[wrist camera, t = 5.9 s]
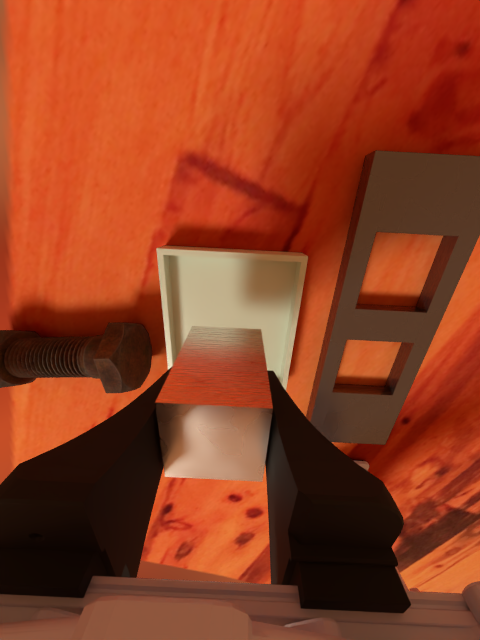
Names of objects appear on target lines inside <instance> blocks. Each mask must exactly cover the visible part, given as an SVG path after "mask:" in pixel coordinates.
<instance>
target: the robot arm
mask: <svg viewBox="0 0 480 640" xmlns="http://www.w3.org/2000/svg"><path fill="white" fill-rule="evenodd" d="M172 367H173V366H172ZM172 367H171V368H170V369H169V370H168V371H167V372H166V373H164V374H163V375H162V376H161V377H160V378H159V379H158V380H157V381H156V382H155V383H154V384H153V385H152V386H150V387H149V388H148V389H147V390H146V391H145V392H144V393H142V394H141V395H140V396H139V397H137V398H136V399H135V400H134V401H133V402H131V403H130V404H129V405H127V406H126V407H125V408H123V409H122V410H120V411H119V412H118V413H116V414H115V415H113V416H112V417H110V418H109V419H107V420H105V421H104V422H102V423H100V424H99V425H97V426H95V427H94V428H92V429H90V430H89V431H87V432H85V433H83V434H81V435H80V436H78V437H76V438H74V439H72V440H70V441H68V442H66V443H64V444H62V445H60V446H58V447H56V448H54V449H52V450H50V451H47V452H45V453H43V454H41V455H39V456H36V457H34V458H32V459H30V460H27V461H25V462H23V463H20V464H19V465H18V466H17V467H16V468H15V469H14V470H13V471H12V472H11V473H10V475H9V476H8V477H7V478H6V479H5V480H4V481H3V482H2V483H1V485H0V640H480V581H479V582H474V583H471V584H469V585H467V586H466V587H465V588H464V590H463V592H462V594H459V593H438V592H420V591H419V590H418V589H417V588H411V589H410V591H409V590H408V588H407V586H406V584H405V582H404V581H403V579H402V577H401V575H400V573H399V571H398V569H397V565H398V562H397V559H396V557H395V554H394V552H393V550H392V548H391V547H392V545H393V544H394V542H395V540H396V539H397V537H398V536H399V534H400V533H401V530H402V528H403V525H404V522H403V517H402V515H401V513H400V511H399V509H398V507H397V505H396V503H395V501H394V500H393V498H392V496H391V494H390V493H389V491H388V490H387V488H386V487H385V485H384V483H383V482H382V481H381V480H379V479H378V478H377V477H375V476H374V475H372V474H371V473H370V472H368V469H369V464H368V462H366V461H353V460H352V459H350V458H349V457H348V456H347V455H345V454H344V453H343V452H342V451H340V450H339V449H338V448H337V447H336V446H335V445H333V444H332V443H331V442H330V441H329V440H328V439H327V438H326V437H325V436H323V435H322V434H321V433H320V432H319V431H318V430H317V429H316V428H315V427H314V426H313V424H312V423H311V422H310V421H309V420H308V419H307V418H306V417H305V416H304V414H303V413H302V412H301V411H300V409H299V408H298V407H297V406H296V404H295V403H294V402H293V400H292V399H291V398H290V396H289V395H288V393H287V392H286V390H285V389H284V387H283V386H282V384H281V383H280V381H279V379H278V378H277V376H276V374H275V372H274V371H270V370H267V372H268V379H269V385H270V392H271V399H272V406H273V412H272V419H271V425H270V432H269V439H268V446H267V453H266V460H265V465H266V477H267V495H268V515H269V538H270V565H271V584H252V583H231V582H230V583H229V582H209V581H190V580H189V581H188V580H168V579H148V578H136V577H137V572H138V568H139V564H140V559H141V555H142V550H143V546H144V541H145V537H146V533H147V529H148V525H149V521H150V516H151V512H152V508H153V504H154V500H155V497H156V493H157V489H158V485H159V481H160V478H161V474H162V470H163V466H164V464H163V457H162V450H161V442H160V435H159V428H158V421H157V413H156V406H155V402H156V399H157V397H158V395H159V393H160V391H161V389H162V387H163V385H164V383H165V381H166V379H167V377H168V375H169V373H170V371H171V369H172Z"/></svg>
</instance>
